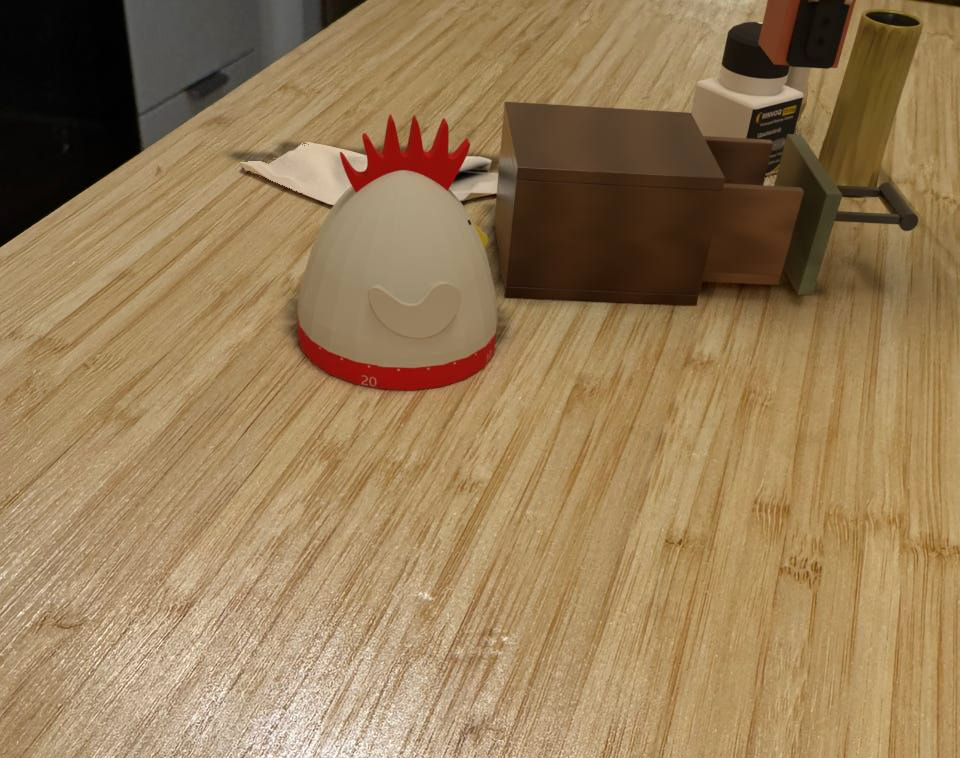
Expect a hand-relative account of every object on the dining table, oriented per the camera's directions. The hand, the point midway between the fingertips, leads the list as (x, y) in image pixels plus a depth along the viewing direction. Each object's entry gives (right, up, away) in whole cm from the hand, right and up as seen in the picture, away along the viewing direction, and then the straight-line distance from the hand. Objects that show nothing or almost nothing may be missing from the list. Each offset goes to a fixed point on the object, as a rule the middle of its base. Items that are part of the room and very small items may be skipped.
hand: (799, 50), depth 79 cm
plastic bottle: (+7, +12, +38) cm, 41 cm away
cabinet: (-13, -11, +12) cm, 21 cm away
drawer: (0, -10, +13) cm, 17 cm away
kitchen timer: (-28, -19, +2) cm, 34 cm away
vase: (+12, +2, +29) cm, 31 cm away
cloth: (-30, -1, +20) cm, 37 cm away
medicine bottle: (+2, +4, +30) cm, 30 cm away
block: (0, 0, 0) cm, 0 cm away
